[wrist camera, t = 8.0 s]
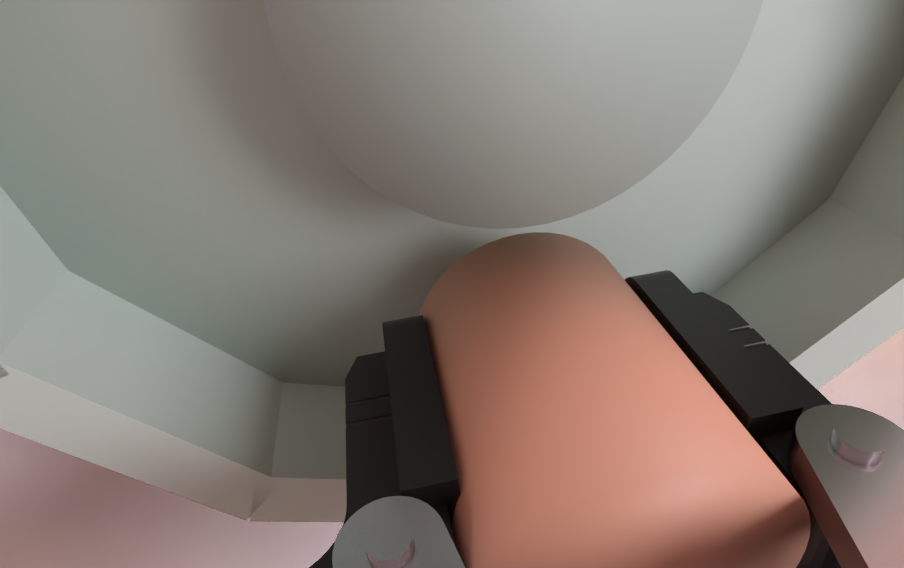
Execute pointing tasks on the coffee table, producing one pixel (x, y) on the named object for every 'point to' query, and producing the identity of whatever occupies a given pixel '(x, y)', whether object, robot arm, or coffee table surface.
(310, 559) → the coffee table surface
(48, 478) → the coffee table surface
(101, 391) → the groove tray
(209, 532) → the coffee table surface
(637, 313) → the terracotta bead
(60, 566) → the coffee table surface
